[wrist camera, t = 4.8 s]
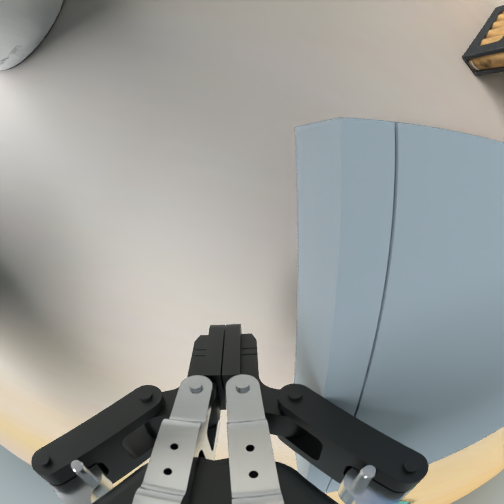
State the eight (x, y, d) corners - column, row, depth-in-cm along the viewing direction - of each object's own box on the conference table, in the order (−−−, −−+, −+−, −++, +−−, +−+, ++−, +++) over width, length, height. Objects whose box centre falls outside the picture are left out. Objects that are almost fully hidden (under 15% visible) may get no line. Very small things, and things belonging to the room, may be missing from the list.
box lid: (295, 127, 11) (339, 117, 6) (548, 163, 11) (607, 183, 6) (291, 426, 18) (301, 496, 13) (491, 373, 18) (522, 414, 13)
